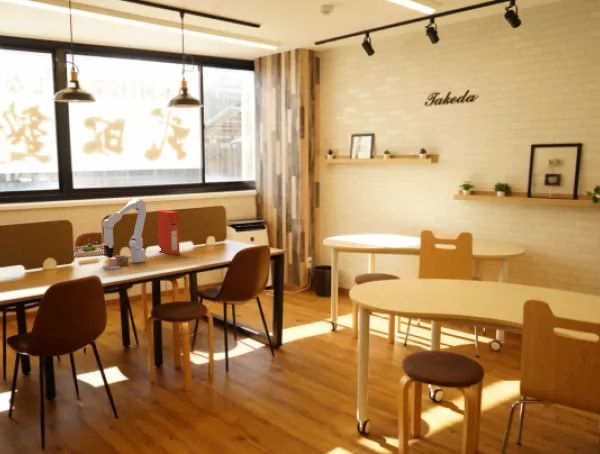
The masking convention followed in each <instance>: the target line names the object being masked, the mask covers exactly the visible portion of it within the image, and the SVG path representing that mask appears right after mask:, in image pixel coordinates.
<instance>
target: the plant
mask: <svg viewBox="0 0 600 454" xmlns="http://www.w3.org/2000/svg"><path fill="white" fill-rule="evenodd" d="M87 241H88V244H86V245H82V247H83V246H84V247H85V249H78V250H77V251H75V253H78V252H91V251H103V249H102V248H99V247H97V245H98V242H97V241H92V242H91V240H90V238H87ZM94 244H95V245H94ZM86 246H87V247H86Z"/></svg>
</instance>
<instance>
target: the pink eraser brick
mask: <svg viewBox="0 0 600 454" xmlns="http://www.w3.org/2000/svg"><path fill="white" fill-rule="evenodd" d="M113 265H117V258H116V257H112V258H109V257H108V258H107V266H113Z"/></svg>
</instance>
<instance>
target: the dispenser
mask: <svg viewBox="0 0 600 454" xmlns="http://www.w3.org/2000/svg"><path fill="white" fill-rule="evenodd" d="M115 258H117V265H119V266H120V267H121V265H122V266H129V256H128V255H127V254H126V255H118V254H115Z"/></svg>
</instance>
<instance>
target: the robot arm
mask: <svg viewBox="0 0 600 454" xmlns="http://www.w3.org/2000/svg"><path fill="white" fill-rule="evenodd" d="M131 210H135V211H136V212H137V217H136V221H135V222H136V223H135V226H134V231H133V234H132V236H131V237H130V240H129V241H128V246H129V247H130V259H129V261H130V263H133V264H134V263H144V262H146V251H145V248H143V246H144V241H143V240H144V239H143V237H142V234H143V230H144V225H145V222H146V215H147V208H146V202H145V201H144V200H143V199H137V198H133V199H131V200H130V201H128V203H127V204H126V205H124V207H122V208H121V209H120V210H119V211H115V212H112V214H111V215H110V216H108V217H107V218H106V219H103V221H102V223H101V225H102V227H103V240H104V242H103V243H102V245H105V246H104V248H105V250H106V256H107V257H108V258H113V254H114V250H115V247H113V246H114V245H115V244H114V230H113V228H114V227H115V224H116V223H118V222H120V220H121V219H122V218H123V216H124V215H125V214H127V212H129V211H131Z"/></svg>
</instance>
